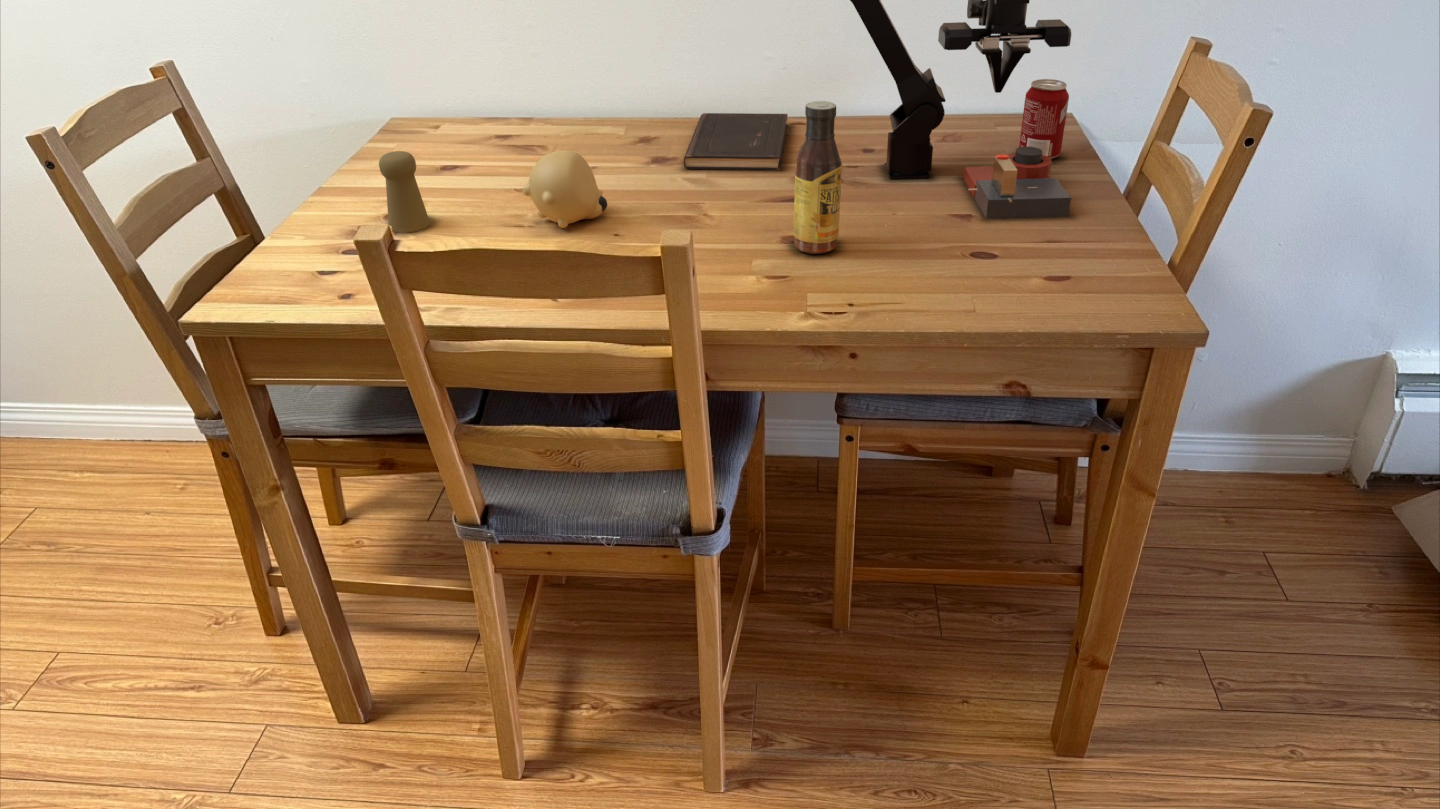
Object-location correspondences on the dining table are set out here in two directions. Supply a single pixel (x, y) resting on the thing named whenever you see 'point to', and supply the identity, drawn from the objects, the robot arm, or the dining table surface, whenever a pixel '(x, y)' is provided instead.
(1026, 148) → the button
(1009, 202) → the dark grey panel
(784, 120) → the hardcover book
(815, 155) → the sauce bottle
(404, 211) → the brown game pawn
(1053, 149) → the soda can
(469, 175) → the dining table surface
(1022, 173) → the button box
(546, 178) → the tan rounded figure
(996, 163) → the tan and red box
